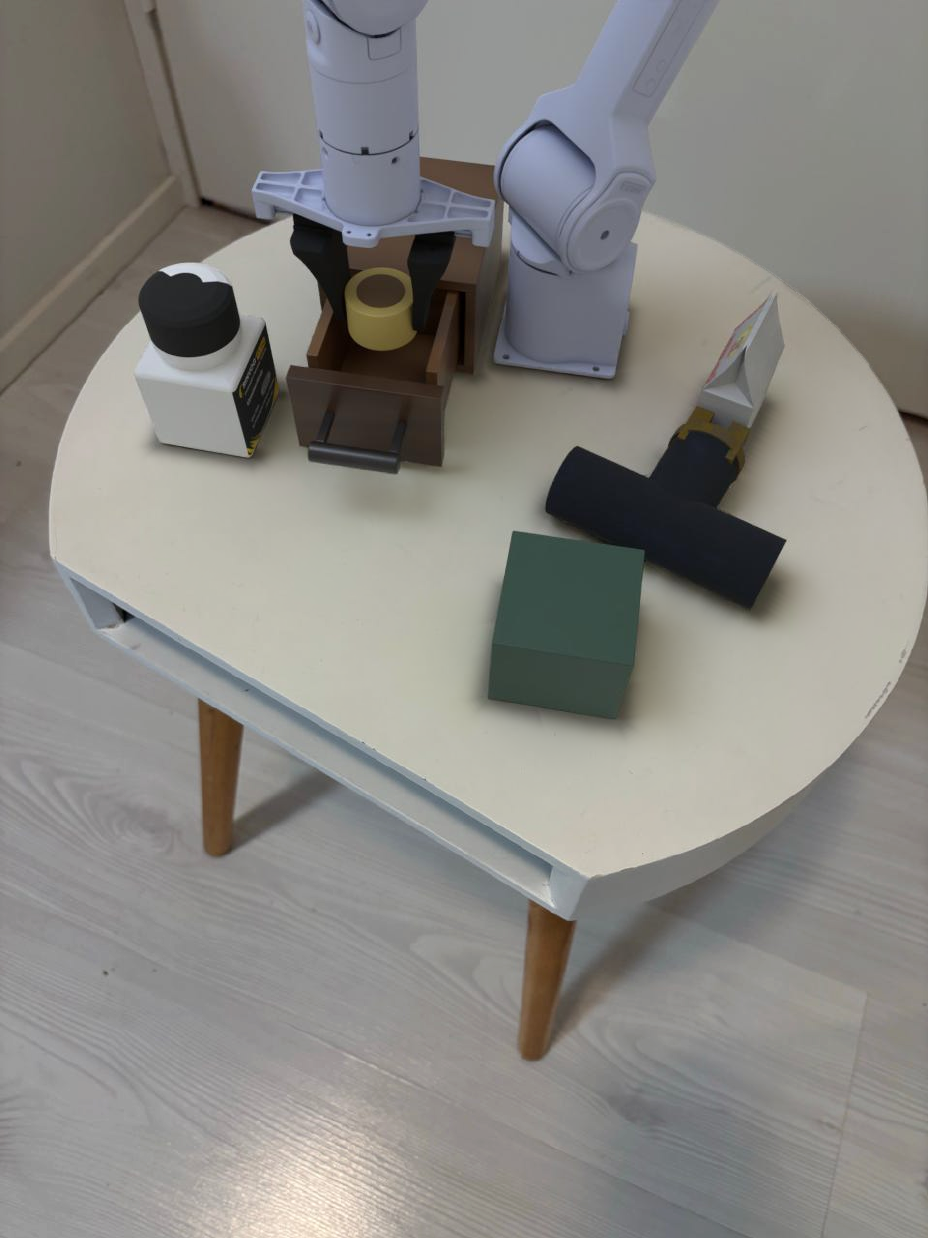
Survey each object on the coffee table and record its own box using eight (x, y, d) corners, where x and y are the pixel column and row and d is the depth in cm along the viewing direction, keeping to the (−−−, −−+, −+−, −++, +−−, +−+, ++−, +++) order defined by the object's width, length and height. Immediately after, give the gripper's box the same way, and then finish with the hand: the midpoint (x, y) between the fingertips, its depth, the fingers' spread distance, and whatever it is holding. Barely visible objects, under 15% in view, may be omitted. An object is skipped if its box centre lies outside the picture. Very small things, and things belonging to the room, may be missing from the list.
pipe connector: (626, 368, 68) (831, 454, 64) (616, 420, 72) (806, 503, 68) (548, 480, 63) (765, 581, 59) (542, 528, 67) (743, 624, 63)
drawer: (430, 512, 66) (428, 446, 61) (283, 490, 67) (268, 423, 61) (471, 344, 75) (473, 272, 69) (340, 326, 76) (331, 253, 70)
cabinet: (473, 375, 74) (476, 284, 67) (327, 354, 75) (314, 263, 68) (501, 259, 81) (506, 166, 74) (366, 242, 82) (358, 148, 75)
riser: (626, 610, 64) (645, 549, 58) (615, 719, 59) (633, 665, 53) (506, 592, 64) (512, 529, 58) (487, 698, 60) (491, 643, 54)
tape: (424, 307, 67) (423, 270, 65) (410, 355, 65) (408, 319, 62) (357, 298, 68) (353, 261, 65) (340, 345, 65) (336, 310, 63)
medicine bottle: (251, 460, 70) (218, 332, 59) (157, 444, 70) (108, 315, 60) (281, 389, 73) (254, 257, 63) (191, 374, 74) (150, 241, 64)
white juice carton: (761, 405, 73) (802, 299, 65) (731, 466, 70) (770, 363, 61) (715, 388, 74) (750, 281, 65) (684, 447, 71) (716, 344, 62)
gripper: (220, 151, 52) (262, 342, 64) (484, 183, 51) (477, 371, 63) (257, 79, 56) (290, 272, 68) (504, 107, 55) (494, 299, 67)
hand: (382, 315), depth 66 cm, fingers closed on tape, 5 cm apart
